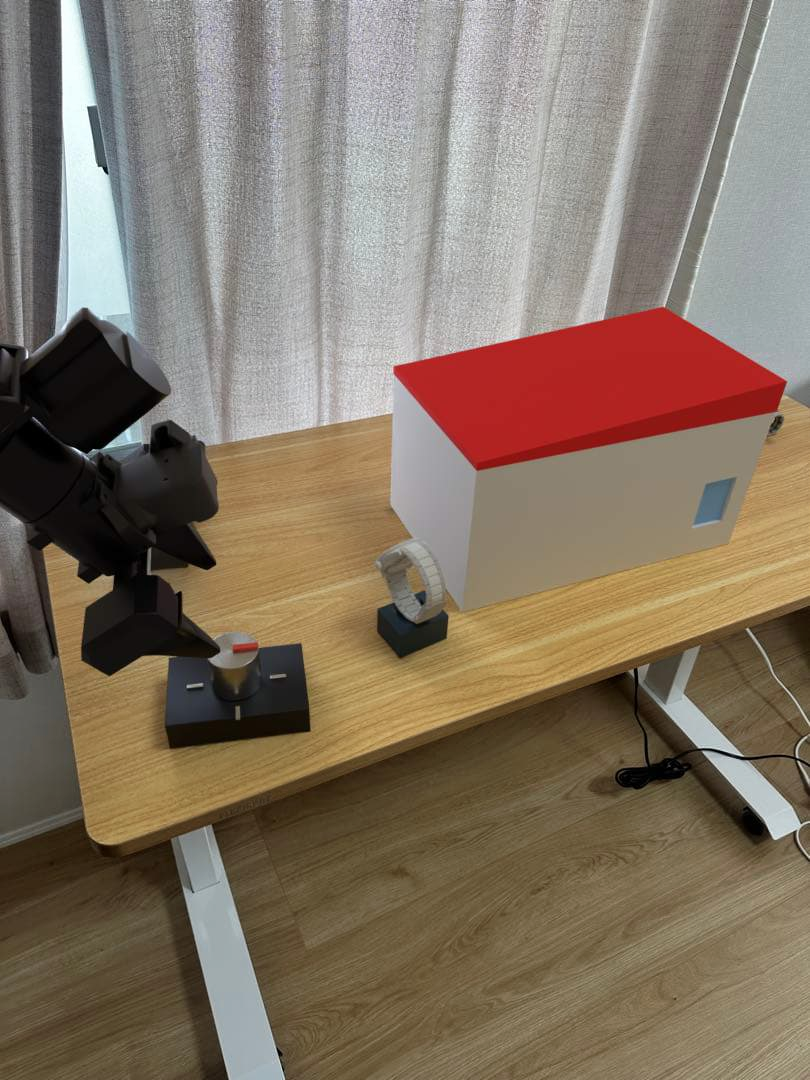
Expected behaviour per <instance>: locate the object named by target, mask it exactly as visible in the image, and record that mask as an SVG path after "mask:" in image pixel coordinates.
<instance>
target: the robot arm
mask: <svg viewBox="0 0 810 1080" xmlns="http://www.w3.org/2000/svg"><path fill="white" fill-rule="evenodd" d="M171 394H172V387H171V383H170V382H169V380H168V378H167V376H166V374H165V373H164V372H163V370H162V369H161V367H160V366H159V364H158V363H157V362H156V360H155V359H154V357H153V356H152V355H151V354H150V353H149V351H148V350H147V349H146V348H145V347H144V346H143V345H142V344H141V343H140V341H138V339H136V338H135V337H134V336H133V335H132V333H130V332H129V331H125V332H124V331H123V330H121V328H119V327H118V326H117V325H115V324H113V322H110V321H108V320H106V319H100V318H99V317H98V316H97V315H96V314H95V313H94V312H93V311H91V309H90V308H88V307H85V306H83V307H81V308H79V309H78V310H77V311H75V313H74V314H72V315H71V316H70V317H69V318H68V319H67V320H66V322H64V324H63V326H62V327H61V329H60V330H59V331H58V332H57V333H55V334H54V335H53V336H52V337H51V338H50V339H48V340H47V341H46V342H44V344H42V345H41V346H40V347H39V348H38V349H36V350H35V351H34V352H33V353H31V354H30V355H29V351H28V349H27V347H25V346H23V345H17V344H11V343H5V342H2V341H1V342H0V508H1V509H2V510H4V511H5V512H7V513H8V514H10V515H11V516H12V517H14V518H16V519H17V520H18V521H20V522H21V523H23V524H24V525H25V526H26V527H28V534H27V539H26V543H27V544H28V545H29V546H31V547H33V548H34V549H35V550H37V551H39V552H40V551H42V550H43V549H45V548H46V547H47V546H49V545H51V544H53V545H55V547H57V548H59V549H60V550H62V551H63V552H65V553H66V554H67V555H69V556H70V557H72V558H73V559H75V560H76V561H78V564H77V565H78V566H77V573H76V577H77V578H79V579H80V580H82V581H83V582H85V583H86V584H88V585H89V584H92V582H94V581H95V580H97V579H99V578H100V577H101V576H103V575H104V576H105V577H107V578H108V577H112V576H113V579H112V580H113V581H112V590H110V591H109V592H107V593H106V594H104V595H103V596H101V597H100V598H98V599H96V600H95V601H93V602H92V603H89V605H87V606H86V607H84V608H85V609H84V610H85V611H84V617H83V627H82V628H83V629H82V636H81V644H80V656H81V661H82V662H83V663H85V664H87V665H88V666H90V667H92V668H93V669H95V670H97V671H99V672H100V673H102V674H104V675H106V676H107V677H111V676H113V675H115V674H116V673H118V672H120V671H121V670H122V669H125V668H126V667H128V666H129V665H131V664H132V663H135V662H136V661H137V660H139V659H141V658H142V657H152V656H153V657H154V656H159V657H194V658H212V657H214V656H216V655H217V654H219V653H220V652H221V650H220V647H219V645H218V644H217V643H216V642H215V641H214V640H213V639H214V638H212V637H211V636H210V635H209V634H208V633H206V631H204V630H203V629H202V628H201V627H200V626H199V625H197V624H196V623H195V622H194V621H193V620H192V619H191V618H190V617H188V616H187V615H186V614H185V613H184V604H183V603H184V596H183V595H184V593H183V591H182V590H179V591H177V592H175V591H174V589H173V587H172V585H171V583H170V582H169V581H166V580H165V579H164V578H163V577H161V575H159V574H151V570H150V568H151V547H153V548H156V549H158V550H160V551H162V552H164V553H166V554H169V555H171V556H173V557H175V558H177V559H179V560H182V561H184V562H186V563H188V565H191V566H193V567H196V568H199V569H201V570H205V571H209V570H211V569H213V568H214V567H216V566H217V559H216V557H215V556H214V555H213V553H212V551H211V549H210V548H209V546H208V545H207V544H206V542H205V540H204V539H203V537H202V536H201V534H200V533H199V531H198V530H197V528H196V526H195V525H194V522H195V523H203V522H207V521H209V520H210V519H212V518H214V517H215V515H217V514H218V512H219V508H220V505H219V500H218V484H219V483H218V478H217V477H216V474H215V472H214V471H213V468H212V466H211V464H210V462H209V459H208V457H207V450H206V449H207V446H206V444H205V442H204V441H202V440H198V438H197V436H196V434H192V435H191V434H190V432H188V431H187V430H186V429H185V428H183V427H181V426H180V425H178V424H177V423H176V422H174V420H172V419H167V420H163V421H159V422H157V423H153V424H152V425H150V436H149V437H150V438H149V443H142V444H141V445H139V446H138V447H137V448H136V449H134V450H132V451H131V452H130V453H128V454H126V455H125V456H124V457H122V458H121V459H120V460H117V459H116V458H114V457H113V456H112V455H111V454H109V453H105V454H103V453H102V452H101V450H103V449H105V448H106V447H107V446H109V444H111V443H112V442H113V441H114V440H115V439H117V438H118V437H119V436H121V435H122V434H124V433H125V432H126V431H127V430H129V429H130V428H131V427H132V426H133V425H134V424H136V423H137V422H138V421H139V420H141V418H143V417H144V416H145V415H147V414H148V413H149V412H150V411H151V410H153V409H154V408H156V406H157V405H159V404H160V403H162V402H163V401H164V400H165V399H167V397H169V396H170V395H171ZM93 450H95V451H97V452H96V453H94V454H93V455H91V456H89V457H87V456H86V455H89V453H91V452H92V451H93ZM84 454H85V455H84Z"/></svg>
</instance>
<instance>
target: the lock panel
mask: <svg viewBox="0 0 810 1080" xmlns="http://www.w3.org/2000/svg"><path fill="white" fill-rule="evenodd" d="M259 654H260V663H261V672H262V684H261V686H260V688H259V689H258V691H257V692H256V693H254V694H253V695H252V696H250V697H248V698H245V699H242V700H236V701H230V700H225V699H222V698H220V697H218V696H217V695H216V694H215V693H214V692H213V690H212V687H211V680H210V674H209V668H208V662H207V658H194V657H177V656H168V665H167V682H166V699H165V717H164V719H165V720H164V729H165V733H166V738H167V742H168V747H169V749H170V750H173V749H179V748H188V747H195V746H202V745H212V744H217V743H219V744H220V743H226V742H235V741H243V740H251V739H258V738H259V739H260V738H264V737H265V738H266V737H274V736H282V735H289V734H297V733H305V732H311V730H312V729H311V727H312V726H311V712H310V701H309V693H308V686H307V678H306V670H305V662H304V661H305V660H304V652H303V644H302V643H300V642H299V643H290V644H282V645H271V646H262V647H259Z"/></svg>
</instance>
